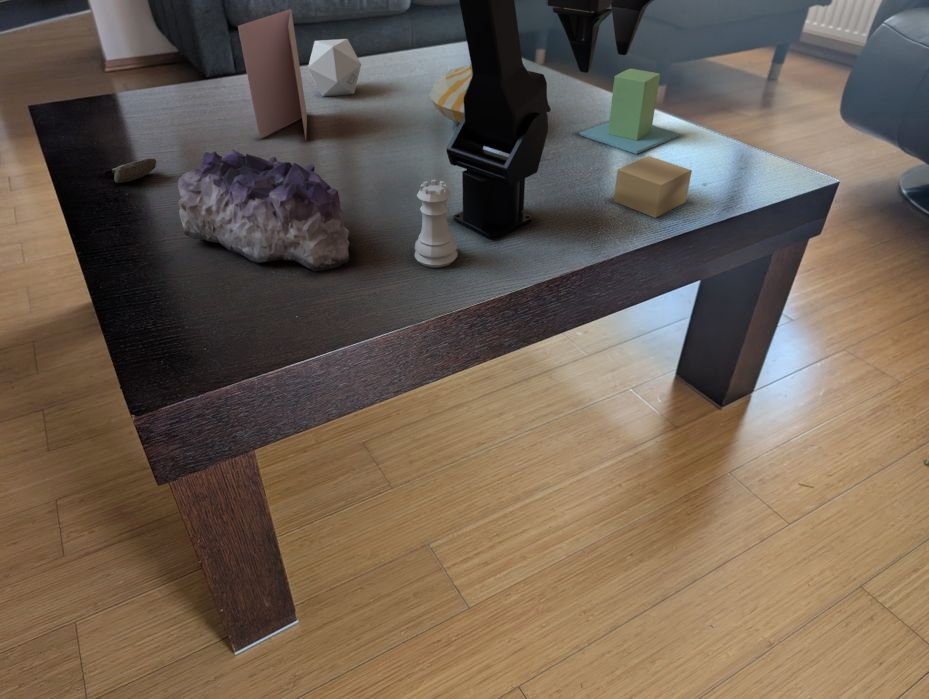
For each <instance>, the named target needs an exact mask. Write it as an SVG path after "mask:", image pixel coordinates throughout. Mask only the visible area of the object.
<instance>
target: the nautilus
mask: <svg viewBox="0 0 929 699" xmlns="http://www.w3.org/2000/svg"><path fill="white" fill-rule="evenodd" d="M472 75H473V73H472V65H471V63H470V64H465V65H463V66H459V67H456V68H452V69H450V70H449V71H448V72H446V73H444V74H443V75H442V76H441V77H440V79H438V80H437V82H436V84H435V86H434V87H433V88H432V89H431V91H430V92H429V96H428V97H429V99H430V101H431V103H432V104H433V105H434V107H435V108H436V109H437V111H438V112H440V113H441V115H442V116H443V117H444V118H447V119H448V120H450V121H453V122H454V121H455V122H456V123H459V124H460V122H461V121H462V119H463V117H464V115H465V114H464V100H463V98H464V95H465V92H466V90H467V87H468V85H469V82H470V80H471V77H472Z"/></svg>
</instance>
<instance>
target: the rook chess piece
mask: <svg viewBox="0 0 929 699" xmlns="http://www.w3.org/2000/svg"><path fill="white" fill-rule="evenodd" d="M437 182H438V181H437V179H431V184H429V181H427V180H425V181H423V182H422V183H421V184H420V186H419V187H420V188H419V191H418V192H417V193H416V197H417V198H418V199H419V201H420V202H421V206H420V208H419V211H420V213H421V215H422V222H421V230H420V233H419V234H418V239H416V240H415V244H414V258H415V260H416V261H417V262H418V263H419V264H420V265H422V266H424V267H428V268H433V269H434V268H438V269H439V268H443V267H447V266H450V265H451V264H452V263H453V262H454V261H455V260H456V258H458V251H457V246H458V245H457V241H456V240H455V238H454V237H453V234H452V233H451V231H450V228H449V222H448V217H447V215H448V214H447V213H448V212H449V208H450V207H449V206H448V205H447V201H448V200H449V199H450V198H451V192H450V190H448V188H447V183H446V182H445V181H443V180H440V181H439V182H438V183H439V184H437Z"/></svg>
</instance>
